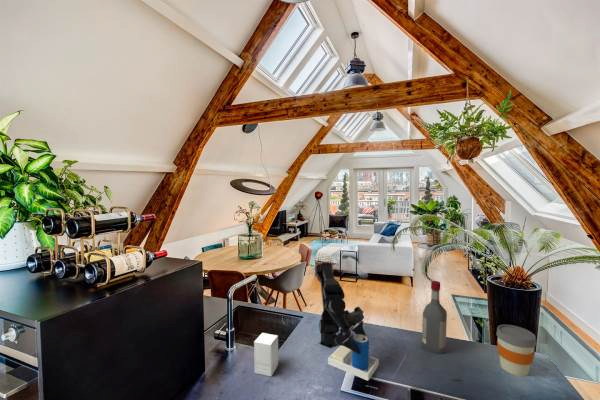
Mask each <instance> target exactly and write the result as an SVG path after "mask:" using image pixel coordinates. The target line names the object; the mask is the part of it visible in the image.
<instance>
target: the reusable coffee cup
mask: <svg viewBox="0 0 600 400" xmlns="http://www.w3.org/2000/svg"><path fill="white" fill-rule="evenodd" d="M495 335H496V336H497V340H496V344H497V345H496V347H497V352H498V355H499V361H500V362H499V363H500V367H501V368H502V369H503V370H504V371H505V372H507V373H510V374H512V375H515V376H519V377H526V376H528V375H529V372H530V368H531V364H533V361H534V357H535V353H536V351H535V347H536V346H537V339H536V335H535V334H534V333H533V332H531V331H530V330H528V329H527V328H523V327H521V326H517V325H512V324H500V325H498V326H497V328H496V334H495Z"/></svg>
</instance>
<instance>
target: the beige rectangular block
mask: <svg viewBox="0 0 600 400" xmlns="http://www.w3.org/2000/svg"><path fill="white" fill-rule="evenodd" d="M340 346H341V345H340ZM340 346H339V347H340ZM339 347H338V348H339ZM338 348H337V349H338ZM337 349H336V350H337ZM336 350H335V351H336ZM335 351H334V352H335ZM334 352H333V353H334ZM333 353H332V354H333ZM332 354H331V355H332ZM351 358H352V350H351V349H349V348H347V347H345V346H341V347H340V348H339V349H338V350H337V351H336V352H335V353H334V354H333V355H332V359H335V360H337V361H340V362H342V363H345V364H347V363H348V362H349V361H350V359H351Z"/></svg>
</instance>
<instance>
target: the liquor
mask: <svg viewBox="0 0 600 400" xmlns="http://www.w3.org/2000/svg"><path fill="white" fill-rule="evenodd" d="M430 289H431V297H430V302H429V303H428V304H426V305H425V307H424V309H423V312H422V324H421V325H422V329H421V331H422V332H421V346H422V348H423V349H424V350H425V351H426V352H431V353H434V354H436V355H441V354H444V353H445V351H446V347H447V323H448V322H447V318H448V313H447V310H446V309H445V308H444V307H443V306H442V304H441V303H440V291H441V281H439V280H431V282H430Z"/></svg>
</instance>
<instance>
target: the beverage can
mask: <svg viewBox="0 0 600 400" xmlns="http://www.w3.org/2000/svg"><path fill="white" fill-rule="evenodd" d="M353 340H354V342H355V343H356V345H357V346H358V348H359V349H360V351H361V353H360V354H358V353H356V352H354V351H352V366H353V367H354V368H357V369H359V370H362V371H365V370H367V369H368V367H369V356H370V341H369V337H368V336H367V335H366V336H365V335H362V334H355V335H353Z"/></svg>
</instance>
